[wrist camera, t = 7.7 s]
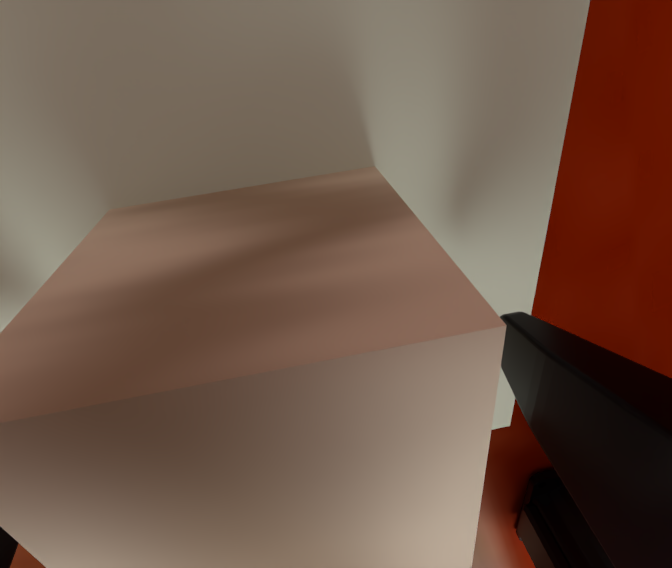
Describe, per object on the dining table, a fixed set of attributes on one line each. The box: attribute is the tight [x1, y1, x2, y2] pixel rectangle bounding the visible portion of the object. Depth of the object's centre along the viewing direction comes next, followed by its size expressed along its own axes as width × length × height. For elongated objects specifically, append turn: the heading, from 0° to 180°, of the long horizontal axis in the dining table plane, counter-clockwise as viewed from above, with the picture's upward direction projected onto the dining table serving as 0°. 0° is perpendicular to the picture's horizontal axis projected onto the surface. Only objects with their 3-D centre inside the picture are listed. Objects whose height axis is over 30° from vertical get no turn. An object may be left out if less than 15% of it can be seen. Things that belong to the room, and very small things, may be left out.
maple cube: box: [0, 166, 507, 568], centre depth 7 cm, size 6×6×6 cm
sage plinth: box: [0, 0, 590, 430], centre depth 11 cm, size 14×14×3 cm
